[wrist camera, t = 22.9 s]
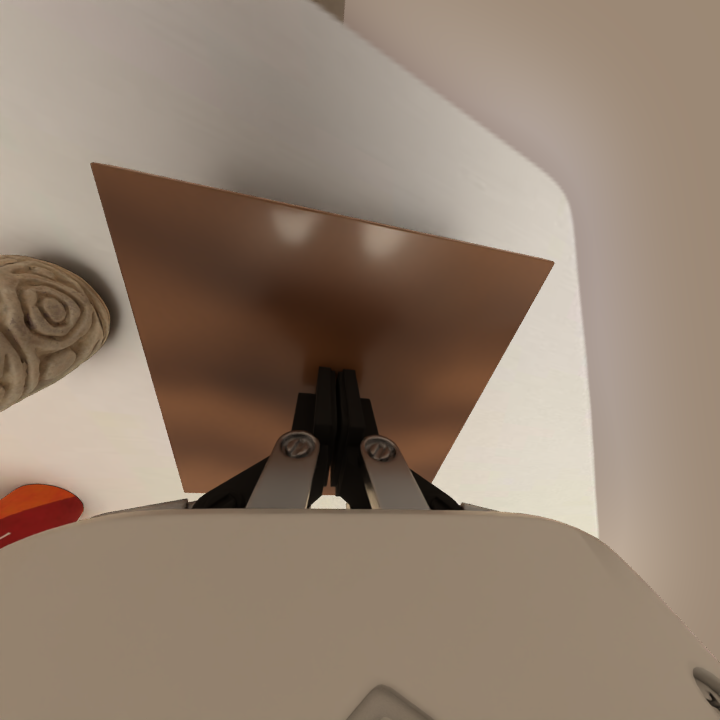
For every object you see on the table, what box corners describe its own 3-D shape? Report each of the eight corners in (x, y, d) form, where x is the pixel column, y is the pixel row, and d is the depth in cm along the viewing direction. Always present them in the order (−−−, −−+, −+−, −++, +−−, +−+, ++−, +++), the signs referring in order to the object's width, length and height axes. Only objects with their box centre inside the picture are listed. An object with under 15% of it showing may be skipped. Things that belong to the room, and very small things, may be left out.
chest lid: (109, 164, 8) (88, 161, 7) (541, 258, 10) (556, 262, 10) (190, 480, 16) (183, 493, 15) (420, 486, 18) (424, 496, 18)
